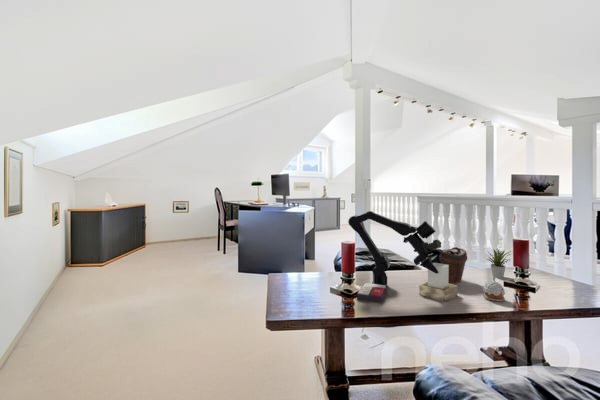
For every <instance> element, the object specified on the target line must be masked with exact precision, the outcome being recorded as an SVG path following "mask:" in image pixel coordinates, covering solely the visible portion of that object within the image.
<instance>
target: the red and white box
mask: <svg viewBox="0 0 600 400" xmlns="http://www.w3.org/2000/svg"><path fill="white" fill-rule="evenodd" d="M387 295H388V285H387V286H386V285H378V284H372V283H371V282H370V283H368V282H365V283H363V284H362V286H361V287H360V289H359V290H358V292H357V293H356V300H357V301H362V302H370V303H378V304H382V303H383V302H384V299H385V297H386V296H387Z"/></svg>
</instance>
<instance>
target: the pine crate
mask: <svg viewBox="0 0 600 400" xmlns="http://www.w3.org/2000/svg"><path fill="white" fill-rule="evenodd" d="M418 292H419V293H418V294H419V296H424V297H427V298H430V299H434V300H437V301H441V302H448V301H449V300H451V299H453V298H455V297H457V296H458V284H457V285H456V284H453V283H448V287H446V288H444V289H437V288H433V287H429V286H428V281H426V282H424V283H421V284H419V291H418Z"/></svg>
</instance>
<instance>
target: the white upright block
mask: <svg viewBox="0 0 600 400" xmlns="http://www.w3.org/2000/svg"><path fill="white" fill-rule="evenodd" d="M433 265H434V266H435V268H436V269H437V271H438V273H437V274H436V273H434V272H432V271H430V270H429V269H427V282H428V286H429V287H433V288H437V289H444V288H446V287H448V284H449V283H448V272H449V265H446V264H440V263H433Z"/></svg>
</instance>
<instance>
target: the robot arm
mask: <svg viewBox="0 0 600 400" xmlns="http://www.w3.org/2000/svg"><path fill="white" fill-rule="evenodd" d="M368 220H371V221H373V222H376V223H378V224H380V225H382V226H386V227H388V228H390V229H392V230H393V231H394V232H396V233H397V234H399V235H401V236H404V237H403V241H402V242H403V243H405V244H407V243H408V244H410V245H411V247H412V248H413V252H414V253H417V254H418V255H417V256H415V258H413V263H414V264H415V266H419V267H420V266H421V267H422V268H425V269H427V270H428V269H429V270H430V271H432V272H434V273H436V274H437V273H438V271H437V269H436V268H435V266H434V265H433V263H440V264H443V263H442V261H441V255H442V253H443V251H442V250H443V249H441V248H442V241H440V240H439V239H438V238H436V239H434V240H433V241H432V242H430V243H428V242H426V241H424V240H423V239H428V238H430V237H431V236H432V235H433V234H435V233H436V229H434V228H435V227H433V226H432V225H431V224H430V223H428V221H426V220H425V221H423V222H422V224H420V225H419V226H412V225H410V223H408V222H403V221H396V220H395V219H394V220H393V219H390V218H388V217H386V216H383V215H381V214H378V213H376V212H374V211H372V210H370V211H369V210H368V211H366V212H364V213H363V214H360V215H357V214H356V215H353V216H350V217H349V219H348V225H349V226H350V227H351V229H352V230H353V231H355V232H356V233H357V234H358V235H359V237H360V239H361V240H362V242H363V243H364V245H365V246H366V248H367V250H368V251H369V253H370V254H371V256H372V258H373V261H374V265H375V266H374V268H373V269H372V271H371V272H372V281H371V284H378V285H386V286H387V287H388V276H387V272H386V271H388V269H389V268H390V266H391V263H390V261H391V260H390V258H389V257H388V256H387V254H386V253H384V254H382V252H381V251H380V250H379V248H378V247H377V245H376V243H375V242H374V241H373V239H372V238H371V236H370V235H369V233H368V231H367V230H366V228H365V225H364V222H366V221H368ZM434 249H436V250H434ZM431 260H432V261H431Z"/></svg>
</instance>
